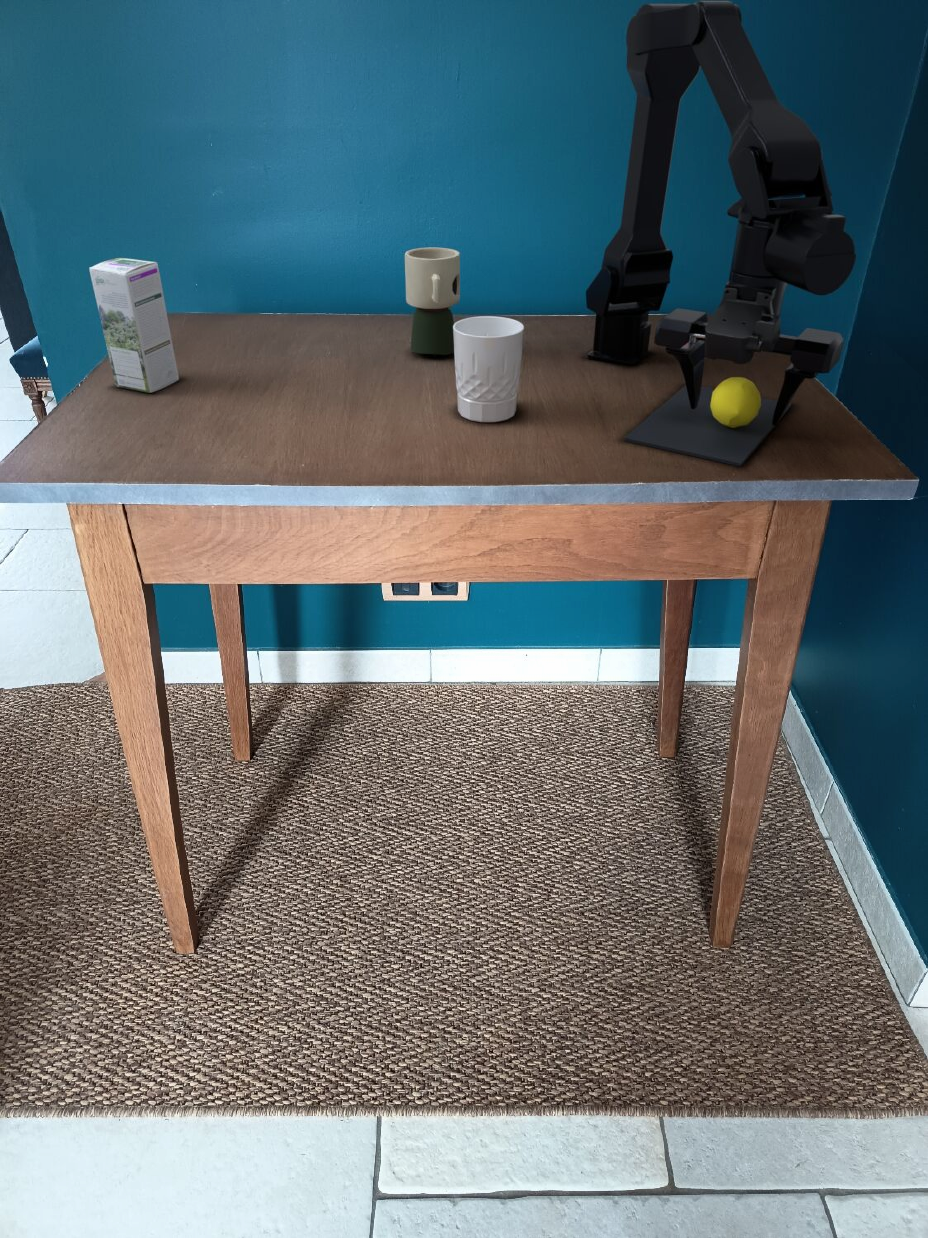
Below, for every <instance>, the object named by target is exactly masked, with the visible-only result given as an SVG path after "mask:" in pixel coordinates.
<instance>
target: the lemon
mask: <svg viewBox="0 0 928 1238" xmlns="http://www.w3.org/2000/svg"><path fill="white" fill-rule="evenodd" d="M714 389H715V390H714V391H713V393H712V398H711V405H710V407H711V410H712V414H713V417H715V418H716V419H717V420H718V421H719V422H720V423H721V424H723V425H724V426H728V427H731V428H735V427H739V426H744V425H748V424H749V423H750V422H751V421H752V420H753V419H754V418H755V417H756V416H757V415H758V412H759V409H760V407H761V399H760V397H761V394H760V391H759V389H758V388H757V386H756V384H755V383H754V382H753V381H752V380H750V379H748V378H746V377H742V376H731V377H729V378H726V379H725V380H723V381H721V382H720V383H718V385H717V386H716V387H715V388H714Z"/></svg>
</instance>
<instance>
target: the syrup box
mask: <svg viewBox="0 0 928 1238" xmlns="http://www.w3.org/2000/svg"><path fill="white" fill-rule="evenodd" d="M88 269H89V274H90V280H91V284H92V289H93V292H94V296H95V301H96V305H97V306H96V307H97V310H98V314H99V318H100V319H99V320H100V323H101V327H102V333H103V336H104V337H103V338H104V341H105V345H106V350H107V354H108V358H109V363H110V367H111V371H112V376H113V380H114V381H113V382H114V385H115V387H116V388H120V389H121V388H122V389H127V390H131V391H137V392H143V393H146V394H147V393H148V394H151V393H155V392H158V391H160V390H162V389H165V388H166V387H168V386H170V385H172V384H175V383H176V382H177V381H179V380H180V377H179V372H178V365H177V362H176V361H177V360H176V356H175V351H174V345H173V339H172V335H171V329H170V324H169V319H168V313H167V307H166V302H165V301H166V300H165V296H164V290H163V285H162V279H161V273H160V267H159V265H158V262H156V261H149V260H142V259H133V258H127V257H125V258H124V257H116V258H112V259H108V260H105V261H101V262H99V263H97V264H94V265H93V266H90V267H88Z"/></svg>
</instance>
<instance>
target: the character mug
mask: <svg viewBox="0 0 928 1238" xmlns="http://www.w3.org/2000/svg"><path fill="white" fill-rule="evenodd" d="M460 255H461V254H460V252H459V251H458V250H456V249H453V248H445V247H433V246H432V247H431V246H429V247H418V248H413V249H410V250H407V251H405V253H404V272H405V273H404V274H405V301H406V304H408V305H409V306H411V307H414V308H415V310H414V312H413V316H412V325H411V332H410V333H411V336H410V351H412V352H413V353H415V354H424V355H425V354H426V355H432V356H433V357H437V356H438V355H443V356H447V355H450V354H454V336H453V325H454V324H455V321H454V314H453V312H452V310H451V307H452V306H455V305H457V304H459V302H460V298H461V256H460Z"/></svg>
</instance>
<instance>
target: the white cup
mask: <svg viewBox="0 0 928 1238" xmlns="http://www.w3.org/2000/svg"><path fill="white" fill-rule="evenodd" d="M524 333H525V326H524V324H523V323H522V322H521V321H519V320H516V319H513V318H509V317H503V316H496V315H495V316H493V315H480V316H471V317H466V318H462V319H459V320H458V321H455V322H454V325H453V336H454V353H453V355H454V357H453V359H454V372H455V387H456V391H457V395H456V396H457V412H458V413H459V414H460V416H461V417H463V418H464V419H467V420H469V421H473V422H479V423H497V422H502V421H506V420H509V419H511V418H512V417H514V416H515V413H516V412H517V406H518V405H517V404H518V392H519V389H520V379H521V369H522V359H523V345H524Z"/></svg>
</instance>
